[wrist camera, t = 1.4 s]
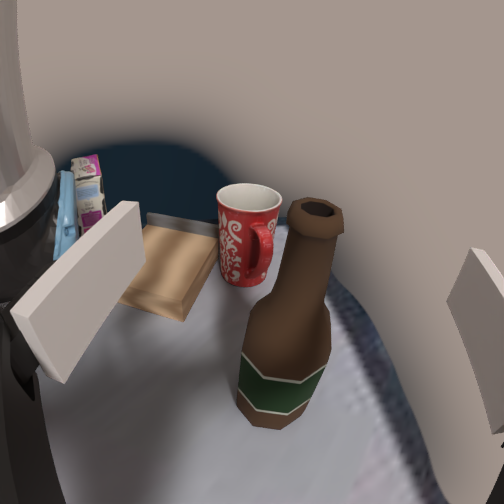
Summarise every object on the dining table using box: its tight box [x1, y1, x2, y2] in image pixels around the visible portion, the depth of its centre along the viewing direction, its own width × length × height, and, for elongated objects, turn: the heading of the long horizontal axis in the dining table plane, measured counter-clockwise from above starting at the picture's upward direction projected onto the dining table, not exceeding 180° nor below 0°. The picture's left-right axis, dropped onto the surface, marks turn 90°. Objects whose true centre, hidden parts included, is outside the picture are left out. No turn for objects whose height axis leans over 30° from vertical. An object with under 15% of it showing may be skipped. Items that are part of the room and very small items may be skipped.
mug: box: [216, 184, 282, 287], centre depth 46 cm, size 13×9×14 cm
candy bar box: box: [71, 155, 107, 237], centre depth 47 cm, size 11×5×16 cm, turn 29°
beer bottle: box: [237, 197, 344, 430], centre depth 26 cm, size 8×8×24 cm
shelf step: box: [118, 212, 220, 322], centre depth 47 cm, size 13×16×6 cm
